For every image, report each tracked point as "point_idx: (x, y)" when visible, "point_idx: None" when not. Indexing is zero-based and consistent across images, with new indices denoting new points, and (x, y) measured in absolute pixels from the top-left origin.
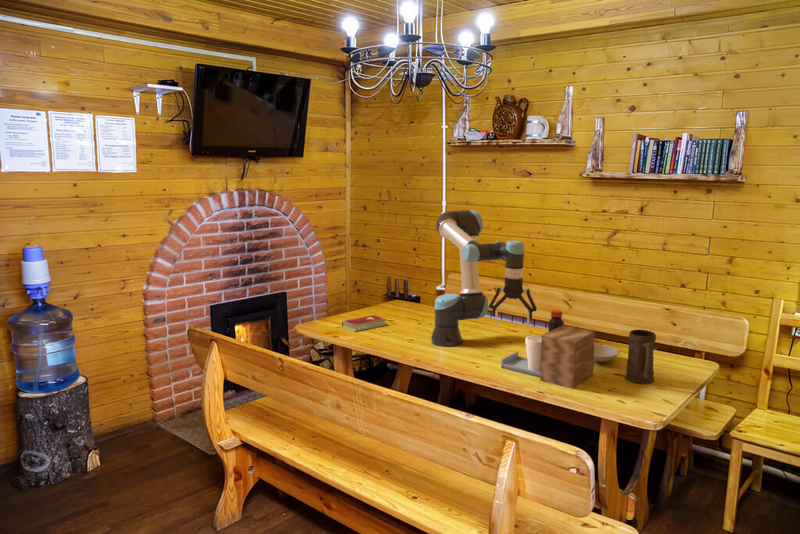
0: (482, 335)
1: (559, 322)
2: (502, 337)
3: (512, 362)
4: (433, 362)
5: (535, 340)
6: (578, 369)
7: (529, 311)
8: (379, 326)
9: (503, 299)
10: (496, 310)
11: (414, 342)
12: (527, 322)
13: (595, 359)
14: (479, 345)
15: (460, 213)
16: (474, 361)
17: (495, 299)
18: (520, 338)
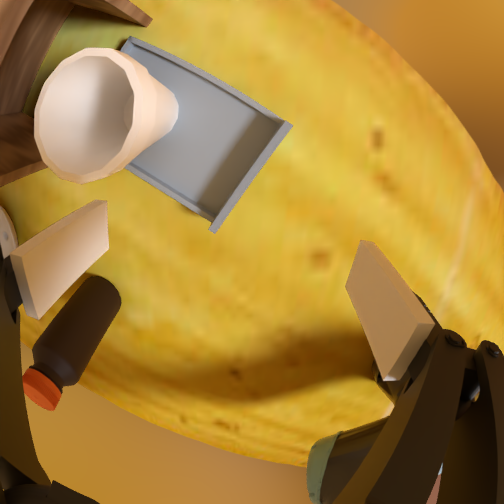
0: (304, 404)
1: (36, 349)
2: (253, 398)
3: (238, 166)
4: (486, 191)
5: (99, 164)
6: (29, 15)
7: (2, 263)
8: (476, 395)
9: (393, 494)
10: (423, 322)
11: (472, 337)
12: (82, 213)
13: (3, 208)
14: (331, 346)
15: None
16: (381, 197)
17: (501, 443)
18: (205, 392)
